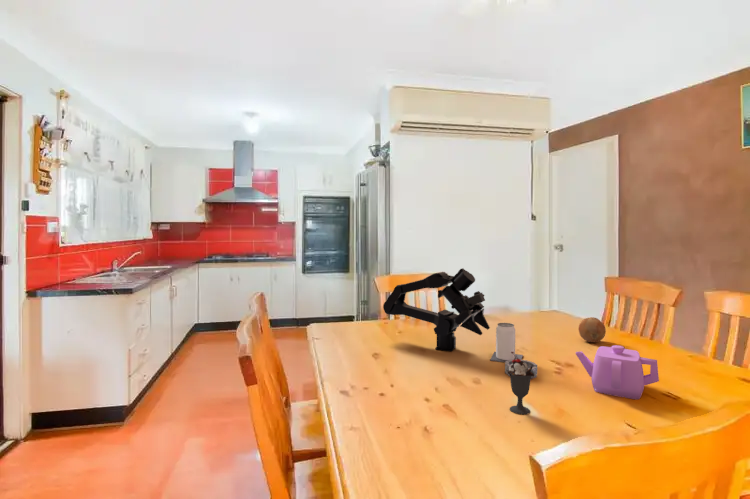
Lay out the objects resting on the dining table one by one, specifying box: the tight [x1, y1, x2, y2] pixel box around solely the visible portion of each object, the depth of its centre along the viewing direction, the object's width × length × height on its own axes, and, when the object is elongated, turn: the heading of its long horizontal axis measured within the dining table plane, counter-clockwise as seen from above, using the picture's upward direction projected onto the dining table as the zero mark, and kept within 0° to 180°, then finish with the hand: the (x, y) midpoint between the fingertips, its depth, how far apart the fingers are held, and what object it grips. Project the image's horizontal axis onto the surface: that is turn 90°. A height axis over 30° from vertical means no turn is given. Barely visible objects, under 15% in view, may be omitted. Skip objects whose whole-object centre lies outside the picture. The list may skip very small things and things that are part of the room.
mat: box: [489, 351, 524, 363], centre depth 147 cm, size 10×10×1 cm
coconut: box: [578, 317, 607, 343], centre depth 167 cm, size 10×10×10 cm
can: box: [495, 322, 516, 361], centre depth 146 cm, size 6×6×12 cm
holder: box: [504, 359, 538, 380], centre depth 132 cm, size 10×10×3 cm
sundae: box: [507, 352, 534, 416], centre depth 105 cm, size 7×7×15 cm
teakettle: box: [575, 344, 660, 400], centre depth 119 cm, size 17×17×12 cm
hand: (485, 331), depth 151 cm, fingers open, 9 cm apart
